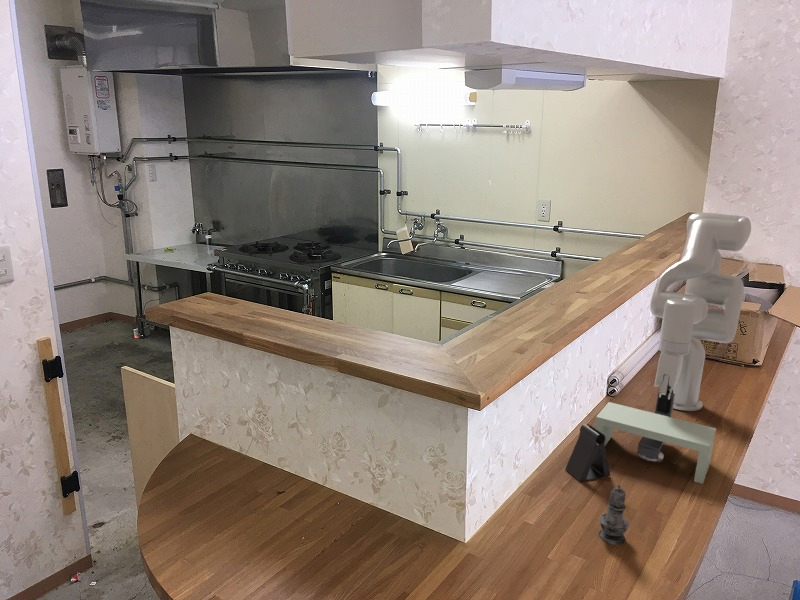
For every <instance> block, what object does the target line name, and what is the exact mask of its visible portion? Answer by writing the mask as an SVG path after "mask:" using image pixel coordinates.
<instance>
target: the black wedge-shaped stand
mask: <svg viewBox="0 0 800 600" xmlns="http://www.w3.org/2000/svg"><path fill="white" fill-rule="evenodd" d="M604 444H605V435H604V434H602V433H601V432H599V431H598V430H597V429H595V426H594V427H593V426H592V425H590V424H589V423H586V424H584V423H583V424H582V425H581V426H580V428H579V436H578V439H577V441H576V442H575V445H574V447H573V449H572V451H571V452H572V453H571V454H570V457H569V459H568V462H567V464H566V466H565V469H564V470H565V471H566V472H567V473H569V474H570V475H571V476H572V477H574V478H575V479H576V480H577V481H578V482H580V483H585V482H589V481H595V480H599V479H605V478H604V477H607V478H609V477H608V476H610V477H611V470H610V466H609V460H608V455H607V451H606V446H605V445H604Z"/></svg>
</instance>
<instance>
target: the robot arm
mask: <svg viewBox="0 0 800 600" xmlns="http://www.w3.org/2000/svg"><path fill="white" fill-rule="evenodd" d="M751 231H752V222H751V221H750V218H749V217H747V216H744V215H736V214H735V215H734V214H722V213H715V212H696V213H692V214H691V215H690V216H689V217H688V218H687V221H686V233H687V234H686V235H687V237H686V239H685V240H686V241H685V243H684V247H683V252H682V254H681V257H680V260H679V261H677V262H676V263H674V264H673V265H671V266H669V267H668V268H667V269H665V271H664V272H662V273H661V274H660V276H658V279H657V280H656V283H655V285H654V289H653V292H652V295H651V299H650V304H649V306H650V307H649V308H650V312H651V314H652V315H653V316H654V317H657V318H660V319H662V322H661V325H660V326H661V328H660V333H659V340H658V346H657V350H658V351H660V355H659V358H658V363H657V368H656V369H657V370H656V374H655V380H654V385H653V387H654V388H658V387H659V390H660V394H659V398H658V404H657V411H659V412H663V413H667V414H668V413H669V412H670V406H671V400H672V399H670V398H671V393H674V394H675V399H674V405H673V410H674V409H675V410H679V411H683V412H684V411H685V412H696V411H700V410H702V409H703V405H704V404H703V402H702V400H700V399H699V395H700V390H701V383H702V379H703V378H702V377H703V372H704V365H705V360H706V350H705V347H704V345H703V344H702V342H701V340H702V341H703V340H704V341H709V342H715V343H720V344H729V343H731V342H733V341H734V339H735V336H736V334H737V329H738V324H739V319H740V315H741V309H742V304H743V298H744V291H745V287H744V286H745V285H744V281H743V280H742V278H739V277H738V276H735V275H734V276H733V275H729V274H721V272H720V271H721V265H722V261H723V257H722V255H721V253H720V251H721V250H722V251H729V252H730V251H731V252H739V251H741V250H742V249H743V248H744V246H745V245H746V243H747V241H748V240H749V238H750V236H751ZM719 250H720V251H719ZM682 281H686V283H685V291H684V293H683V292H682V293H680V292H674V291H667V290H668V289H669V288H670V287H671V286H672V285H674V284H676V283H679V282H682ZM709 305H711V306H718V307H721V308H723V310H720V309H713V308H709ZM668 392H669V393H668Z"/></svg>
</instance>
